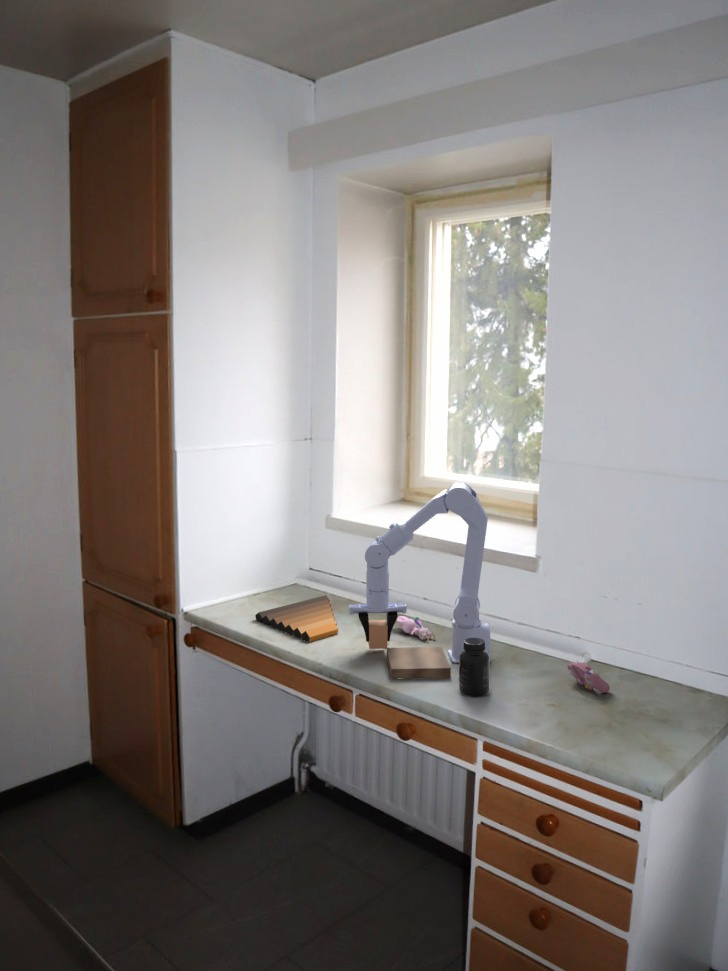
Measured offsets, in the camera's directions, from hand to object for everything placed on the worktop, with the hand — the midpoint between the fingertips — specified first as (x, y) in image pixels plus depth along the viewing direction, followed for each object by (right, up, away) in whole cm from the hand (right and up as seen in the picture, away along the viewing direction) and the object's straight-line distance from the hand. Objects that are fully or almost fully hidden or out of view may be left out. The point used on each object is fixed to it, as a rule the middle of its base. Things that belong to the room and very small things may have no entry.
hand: (377, 640), depth 208 cm
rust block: (0, -1, 0) cm, 2 cm away
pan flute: (-17, 0, +24) cm, 30 cm away
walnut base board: (+9, -5, -10) cm, 14 cm away
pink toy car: (+48, -7, -21) cm, 53 cm away
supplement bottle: (+21, -7, -24) cm, 33 cm away
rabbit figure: (+10, -1, +14) cm, 17 cm away
